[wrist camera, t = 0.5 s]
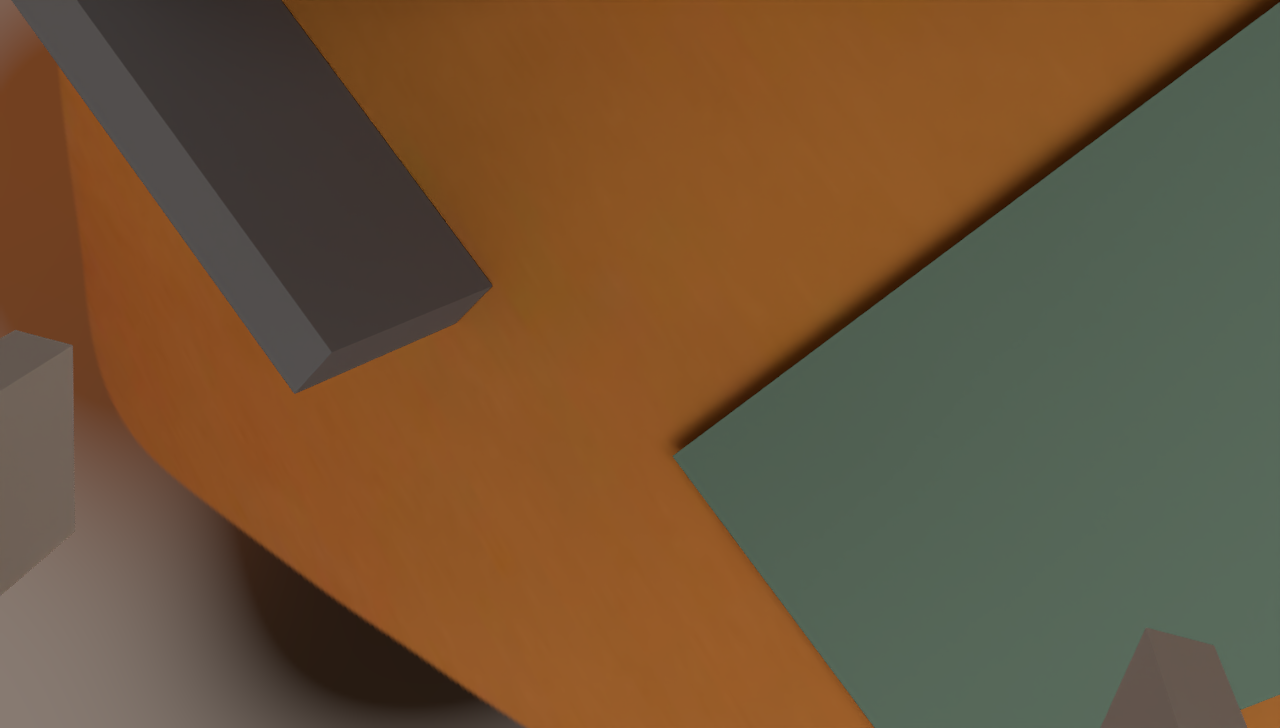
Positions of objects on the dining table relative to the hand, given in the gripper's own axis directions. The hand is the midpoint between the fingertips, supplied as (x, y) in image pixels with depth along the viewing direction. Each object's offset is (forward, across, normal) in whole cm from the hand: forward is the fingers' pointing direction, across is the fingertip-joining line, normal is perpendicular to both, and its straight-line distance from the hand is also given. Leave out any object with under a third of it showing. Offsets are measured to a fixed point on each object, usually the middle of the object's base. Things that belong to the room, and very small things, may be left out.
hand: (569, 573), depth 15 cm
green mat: (+14, +10, -3) cm, 17 cm away
